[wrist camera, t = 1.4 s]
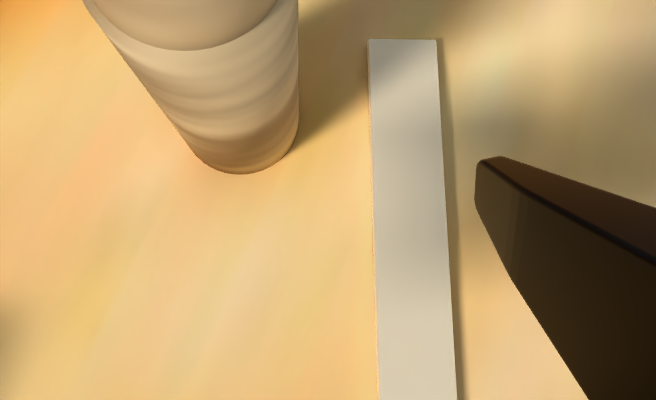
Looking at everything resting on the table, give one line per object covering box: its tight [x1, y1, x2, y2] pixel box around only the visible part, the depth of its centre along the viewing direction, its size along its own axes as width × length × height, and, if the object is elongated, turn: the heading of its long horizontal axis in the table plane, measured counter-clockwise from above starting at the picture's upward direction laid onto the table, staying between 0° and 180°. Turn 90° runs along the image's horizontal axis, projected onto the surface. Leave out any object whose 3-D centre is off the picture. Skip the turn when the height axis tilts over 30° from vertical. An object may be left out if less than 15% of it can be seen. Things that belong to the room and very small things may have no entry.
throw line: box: [367, 39, 457, 400], centre depth 21 cm, size 16×3×1 cm, turn 1°
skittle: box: [83, 0, 299, 174], centre depth 15 cm, size 5×5×13 cm
